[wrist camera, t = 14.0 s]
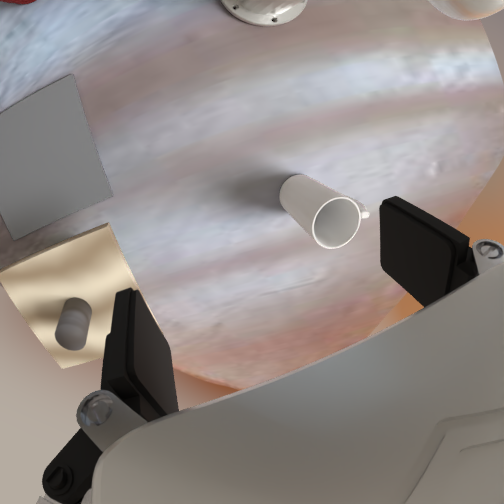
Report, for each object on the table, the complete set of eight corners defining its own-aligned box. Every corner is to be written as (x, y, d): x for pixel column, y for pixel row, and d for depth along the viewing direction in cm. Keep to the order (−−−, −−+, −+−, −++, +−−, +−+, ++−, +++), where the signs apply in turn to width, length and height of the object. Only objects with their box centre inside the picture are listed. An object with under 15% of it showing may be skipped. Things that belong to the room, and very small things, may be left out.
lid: (-1, 269, 28) (-21, 298, 23) (108, 222, 30) (99, 248, 25) (63, 362, 36) (57, 396, 31) (163, 333, 38) (166, 368, 33)
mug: (277, 217, 48) (310, 253, 38) (276, 174, 45) (312, 200, 35) (335, 209, 50) (377, 240, 40) (336, 169, 47) (383, 192, 37)
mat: (-28, 133, 28) (-29, 134, 28) (73, 74, 30) (72, 73, 30) (15, 239, 37) (13, 241, 37) (113, 195, 39) (113, 196, 39)
